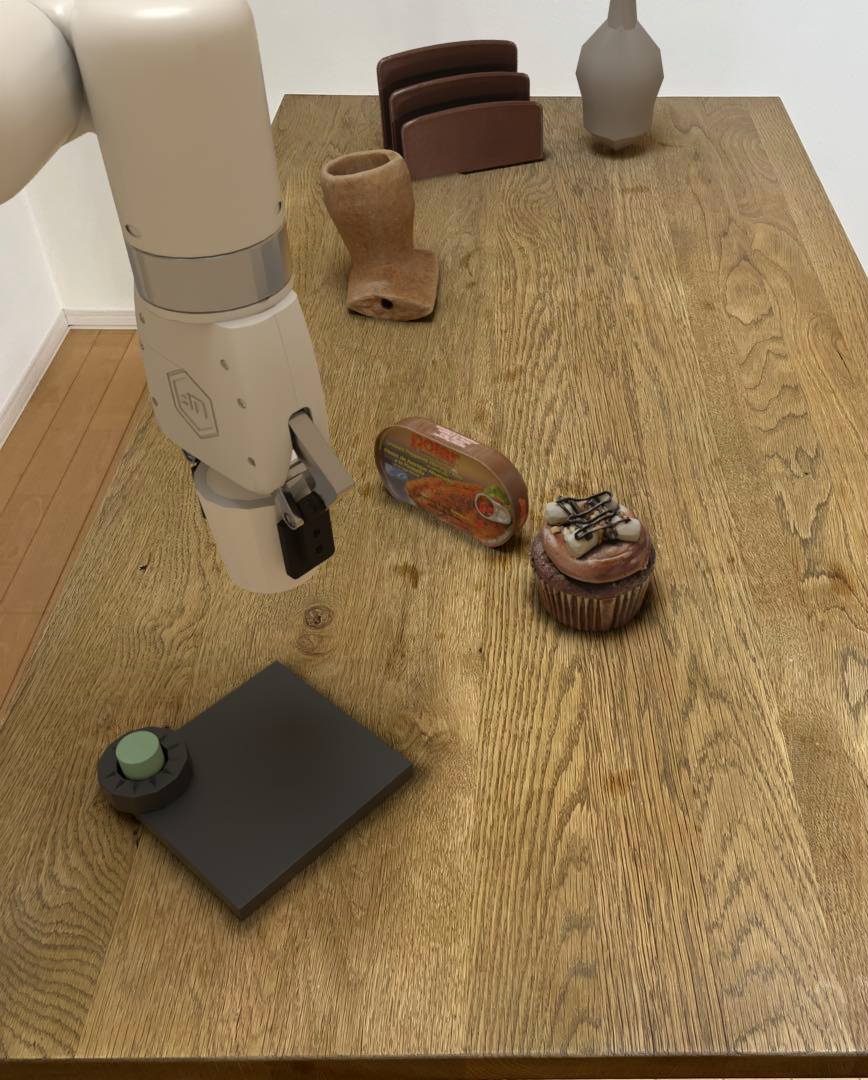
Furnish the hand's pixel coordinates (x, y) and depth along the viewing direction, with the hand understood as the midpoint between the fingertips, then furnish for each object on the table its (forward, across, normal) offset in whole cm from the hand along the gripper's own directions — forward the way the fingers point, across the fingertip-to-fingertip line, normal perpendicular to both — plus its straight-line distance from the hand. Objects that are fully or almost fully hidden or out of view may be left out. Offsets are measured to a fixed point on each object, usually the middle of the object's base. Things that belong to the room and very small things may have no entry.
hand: (268, 535), depth 65 cm
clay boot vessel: (+18, -41, +46) cm, 64 cm away
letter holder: (+18, -60, +79) cm, 101 cm away
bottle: (+18, -46, +95) cm, 107 cm away
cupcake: (+18, +7, +23) cm, 30 cm away
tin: (+18, -8, +23) cm, 30 cm away
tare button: (+14, -3, -10) cm, 18 cm away
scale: (+18, +2, -5) cm, 18 cm away
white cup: (+2, 0, 0) cm, 2 cm away
